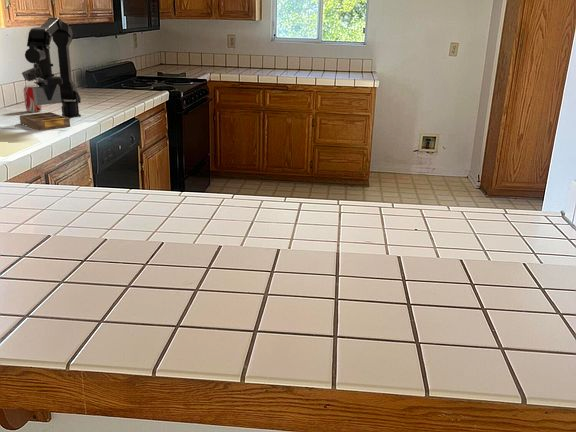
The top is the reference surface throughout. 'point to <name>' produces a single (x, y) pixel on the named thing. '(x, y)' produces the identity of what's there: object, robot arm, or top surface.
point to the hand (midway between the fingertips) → (47, 99)
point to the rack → (44, 121)
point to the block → (45, 96)
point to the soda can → (30, 99)
